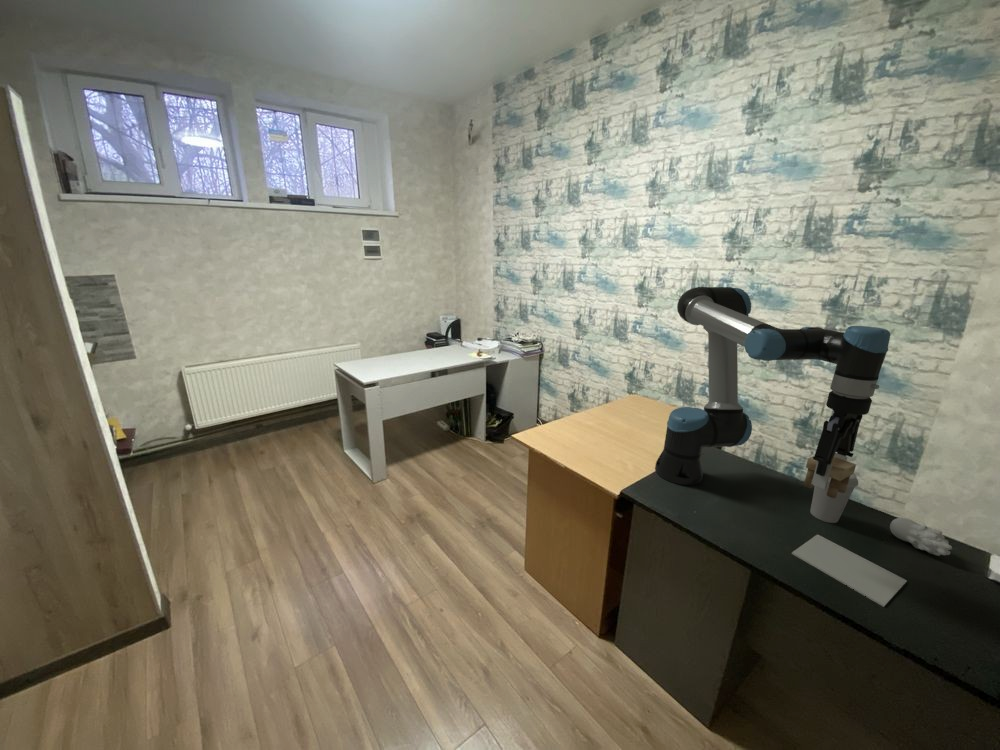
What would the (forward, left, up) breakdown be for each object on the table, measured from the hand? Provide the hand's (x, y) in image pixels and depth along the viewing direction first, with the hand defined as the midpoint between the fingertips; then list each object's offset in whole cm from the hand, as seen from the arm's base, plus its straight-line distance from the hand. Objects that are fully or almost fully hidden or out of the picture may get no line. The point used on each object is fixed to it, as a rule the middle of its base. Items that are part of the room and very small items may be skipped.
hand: (826, 481), depth 95 cm
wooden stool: (0, 0, -2) cm, 2 cm away
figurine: (+14, +27, -20) cm, 37 cm away
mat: (+8, +1, -20) cm, 22 cm away
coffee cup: (-4, +20, -20) cm, 29 cm away
